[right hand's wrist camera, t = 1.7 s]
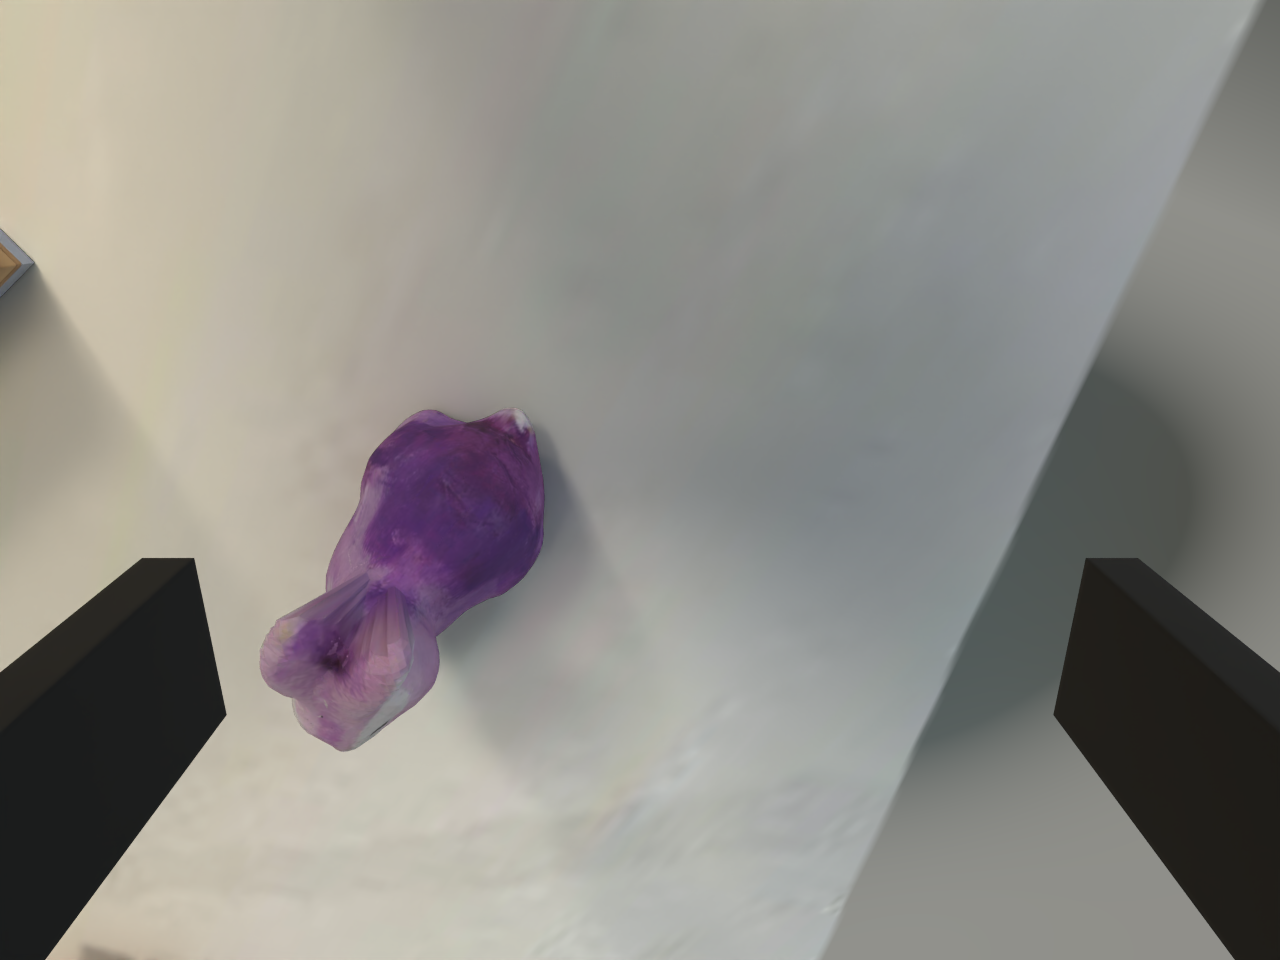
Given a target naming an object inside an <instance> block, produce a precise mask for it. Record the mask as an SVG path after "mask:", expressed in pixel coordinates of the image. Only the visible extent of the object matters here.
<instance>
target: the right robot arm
mask: <svg viewBox="0 0 1280 960" xmlns="http://www.w3.org/2000/svg"><path fill="white" fill-rule="evenodd" d="M225 716H226V710H225V705H224V700H223V695H222V690H221V686H220V681H219V676H218V671H217V666H216V661H215V657H214V652H213V647H212V642H211V637H210V632H209V628H208V623H207V618H206V613H205V608H204V603H203V599H202V594H201V589H200V584H199V579H198V574H197V570H196V565H195V560H194V558H142V559H140V560H139V561H138V562H137V563H135V564H134V565H133V566H132V567H131V568H129V569H128V570H127V571H126V572H124V573H123V574H122V575H121V576H119V577H118V578H117V579H116V580H114V581H113V582H112V583H111V584H109V585H108V586H107V587H106V588H104V589H103V590H102V591H101V592H100V593H98V594H97V595H96V596H95V597H93V598H92V599H91V600H90V601H88V602H87V603H86V604H85V605H83V606H82V607H81V608H80V609H78V610H77V611H76V612H75V613H73V614H72V615H71V616H70V617H69V618H67V619H66V620H65V621H64V622H62V623H61V624H60V625H59V626H57V627H56V628H55V629H54V630H52V631H51V632H50V633H49V634H47V635H46V636H45V637H44V638H42V639H41V640H40V641H39V642H38V643H36V644H35V645H34V646H33V647H31V648H30V649H29V650H28V651H26V652H25V653H24V654H23V655H21V656H20V657H19V658H18V659H16V660H15V661H14V662H13V663H11V664H10V665H9V666H8V667H7V668H5V669H4V670H3V671H2V672H0V960H45V959H46V958H47V957H48V955H49V954H50V953H51V951H52V950H53V948H54V947H55V946H56V944H57V943H58V942H59V940H60V939H61V938H62V936H63V935H64V934H65V932H66V931H67V930H68V928H69V927H70V926H71V924H72V923H73V921H74V920H75V919H76V917H77V916H78V915H79V913H80V912H81V911H82V909H83V908H84V907H85V905H86V904H87V903H88V901H89V900H90V899H91V897H92V896H93V894H94V893H95V892H96V890H97V889H98V888H99V886H100V885H101V884H102V882H103V881H104V880H105V878H106V877H107V876H108V874H109V873H110V872H111V870H112V869H113V867H114V866H115V865H116V863H117V862H118V861H119V859H120V858H121V857H122V855H123V854H124V853H125V851H126V850H127V849H128V847H129V846H130V844H131V843H132V842H133V840H134V839H135V838H136V836H137V835H138V834H139V832H140V831H141V830H142V828H143V827H144V826H145V824H146V823H147V822H148V820H149V819H150V817H151V816H152V815H153V813H154V812H155V811H156V809H157V808H158V807H159V805H160V804H161V803H162V801H163V800H164V799H165V797H166V796H167V795H168V793H169V792H170V790H171V789H172V788H173V786H174V785H175V784H176V782H177V781H178V780H179V778H180V777H181V776H182V774H183V773H184V772H185V770H186V769H187V768H188V766H189V765H190V763H191V762H192V761H193V759H194V758H195V757H196V755H197V754H198V753H199V751H200V750H201V749H202V747H203V746H204V745H205V743H206V742H207V741H208V739H209V738H210V736H211V735H212V734H213V732H214V731H215V730H216V728H217V727H218V726H219V724H220V723H221V722H222V720H223V719H224V718H225ZM1054 716H1055V718H1056V719H1057V720H1058V722H1059V723H1060V724H1061V726H1062V727H1063V728H1064V730H1065V731H1066V732H1067V734H1068V735H1069V736H1070V738H1071V739H1072V741H1073V742H1074V743H1075V745H1076V746H1077V747H1078V749H1079V750H1080V751H1081V753H1082V754H1083V755H1084V757H1085V758H1086V759H1087V761H1088V762H1089V763H1090V765H1091V766H1092V768H1093V769H1094V770H1095V772H1096V773H1097V774H1098V776H1099V777H1100V778H1101V780H1102V781H1103V782H1104V784H1105V785H1106V786H1107V788H1108V789H1109V790H1110V792H1111V793H1112V795H1113V796H1114V797H1115V799H1116V800H1117V801H1118V803H1119V804H1120V805H1121V807H1122V808H1123V809H1124V811H1125V812H1126V813H1127V815H1128V816H1129V817H1130V819H1131V820H1132V822H1133V823H1134V824H1135V826H1136V827H1137V828H1138V830H1139V831H1140V832H1141V834H1142V835H1143V836H1144V838H1145V839H1146V840H1147V842H1148V843H1149V845H1150V846H1151V847H1152V849H1153V850H1154V851H1155V853H1156V854H1157V855H1158V857H1159V858H1160V859H1161V861H1162V862H1163V863H1164V865H1165V866H1166V867H1167V869H1168V870H1169V872H1170V873H1171V874H1172V876H1173V877H1174V878H1175V880H1176V881H1177V882H1178V884H1179V885H1180V886H1181V888H1182V889H1183V890H1184V892H1185V893H1186V894H1187V896H1188V897H1189V898H1190V900H1191V901H1192V903H1193V904H1194V905H1195V907H1196V908H1197V909H1198V911H1199V912H1200V913H1201V915H1202V916H1203V917H1204V919H1205V920H1206V921H1207V923H1208V924H1209V926H1210V927H1211V928H1212V930H1213V931H1214V932H1215V934H1216V935H1217V936H1218V938H1219V939H1220V940H1221V942H1222V943H1223V944H1224V946H1225V947H1226V948H1227V950H1228V951H1229V953H1230V954H1231V955H1232V957H1233V958H1234V959H1235V960H1280V672H1278V671H1277V670H1276V669H1275V668H1273V667H1272V666H1271V665H1270V664H1268V663H1267V662H1266V661H1265V660H1264V659H1262V658H1261V657H1260V656H1259V655H1257V654H1256V653H1255V652H1254V651H1252V650H1251V649H1250V648H1249V647H1247V646H1246V645H1245V644H1244V643H1242V642H1241V641H1240V640H1239V639H1237V638H1236V637H1235V636H1234V635H1232V634H1231V633H1230V632H1229V631H1228V630H1226V629H1225V628H1224V627H1223V626H1221V625H1220V624H1219V623H1218V622H1216V621H1215V620H1214V619H1213V618H1211V617H1210V616H1209V615H1208V614H1207V613H1205V612H1204V611H1203V610H1202V609H1200V608H1199V607H1198V606H1197V605H1195V604H1194V603H1193V602H1192V601H1190V600H1189V599H1188V598H1187V597H1185V596H1184V595H1183V594H1182V593H1180V592H1179V591H1178V590H1177V589H1175V588H1174V587H1173V586H1172V585H1171V584H1169V583H1168V582H1167V581H1166V580H1164V579H1163V578H1162V577H1161V576H1159V575H1158V574H1157V573H1156V572H1154V571H1153V570H1152V569H1151V568H1149V567H1148V566H1147V565H1146V564H1145V563H1143V562H1142V561H1141V560H1140V559H1138V558H1086V560H1085V565H1084V570H1083V575H1082V579H1081V584H1080V589H1079V594H1078V599H1077V603H1076V608H1075V613H1074V618H1073V623H1072V628H1071V632H1070V637H1069V642H1068V647H1067V652H1066V657H1065V661H1064V666H1063V671H1062V676H1061V681H1060V686H1059V691H1058V695H1057V700H1056V705H1055V710H1054Z"/></svg>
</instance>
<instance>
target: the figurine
mask: <svg viewBox="0 0 1280 960" xmlns="http://www.w3.org/2000/svg"><path fill="white" fill-rule="evenodd" d="M543 517H544V484H543V476H542V470H541V465H540V459H539V454H538V448H537V442H536V437H535V432H534V429H533V426H532V424H531V422H530V420H529V418H528V417H527V416H526V414H525V413H524V412H523V411H521V410H519V409H516V408H504V409H502V410H500V411H498V412H496V413H495V414H493V415H491V416H488V417H486V418H483V419H481V420H477V421H473V422H469V423H465V422H462V421H457V420H454V419H452V418H449V417H448V416H446V415H444V414H443V413H441V412H438V411H436V410H423V411H420V412H418V413H416V414H414V415H412V416H410V417H409V418H407V419H406V420H405V421H404V422H403V423H402V424H401V425H400V426H399V427H398V428H397V429H396V430H395V431H394V432H393V433H392V434H391V435H390V436H388V437H387V438H386V439H385V440H384V441H383V442H382V443H381V444H380V446H379V447H378V448H377V449H376V450H375V451H374V453H373V454H372V455H371V457H370V458H369V460H368V463H367V466H366V469H365V473H364V476H363V479H362V482H361V494H360V501H359V505H358V507H357V509H356V511H355V513H354V515H353V517H352V519H351V520H350V522H349V524H348V526H347V527H346V529H345V531H344V533H343V534H342V536H341V538H340V540H339V542H338V544H337V546H336V548H335V550H334V553H333V556H332V558H331V561H330V563H329V567H328V570H327V574H326V593H324V594H323V595H321V596H319V597H317V598H315V599H314V600H312V601H310V602H308V603H306V604H305V605H303V606H301V607H299V608H297V609H296V610H294V611H292V612H290V613H288V614H287V615H285V616H283V617H281V618H280V619H278V620H277V621H276V623H275V626H273V627H271V628H270V632H269V633H268V634H267V635H266V637H265V640H264V642H263V645H262V647H261V649H260V670H261V674H262V677H263V679H264V680H265V682H266V683H267V685H268V686H269V687H270V688H272V689H273V690H275V691H277V692H279V693H280V694H282V695H284V696H287V697H291V698H292V704H293V710H294V715H295V716H296V718H297V720H298V722H299V724H300V725H301V726H302V728H303V729H304V730H305V731H306V732H307V733H309V734H311V735H313V736H315V737H316V738H318V739H320V740H322V741H324V742H326V743H328V744H329V745H331V746H333V747H334V748H335V749H337V750H339V751H343V752H344V751H350V750H353V749H356V748H358V747H359V746H361V745H362V744H364V743H365V742H366V741H368V740H369V739H371V738H372V737H374V736H375V735H376V734H377V733H378V732H380V731H381V730H382V729H383V728H384V727H385V726H387V725H388V724H390V723H391V722H392V721H394V720H395V719H396V718H397V717H399V716H400V715H401V714H403V713H404V712H406V711H407V710H409V709H410V708H412V707H413V706H414V705H416V704H417V703H418V702H419V701H420V700H421V699H422V698H423V697H424V696H425V695H426V694H427V692H428V691H429V690H430V689H431V688H432V686H433V685H434V683H435V680H436V677H437V674H438V670H439V650H438V646H437V641H436V636H437V635H439V634H440V633H441V632H443V631H444V630H445V629H446V628H447V627H448V626H450V625H451V624H452V623H453V622H454V621H455V620H456V619H457V618H458V617H459V616H460V615H461V614H463V613H464V612H465V611H467V610H468V609H470V608H471V607H473V606H475V605H477V604H479V603H481V602H483V601H485V600H487V599H489V598H493V597H496V596H499V595H502V594H504V593H505V592H507V591H508V590H509V589H511V588H512V587H513V586H515V585H516V584H517V583H518V582H519V581H520V580H521V579H522V578H524V576H525V575H526V573H527V572H528V571H529V570H530V568H531V567H532V565H533V564H534V562H535V560H536V558H537V557H538V555H539V553H540V550H541V547H542V543H543V535H544V531H543Z"/></svg>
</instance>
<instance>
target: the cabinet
mask: <svg viewBox="0 0 1280 960" xmlns="http://www.w3.org/2000/svg"><path fill="white" fill-rule="evenodd" d="M33 263H34V262H33V261H32V260H31V259H30V258H29V257H28V256H27V255H26V254H25V253H24V252H23V251H22V250H21V249H20V248H19V247H18V246H17V245H16V244H15V243H14V242H13V241H12V240H11V239H10V238H9V237H8V236H7V235H6V234H5V233H4V232H3V231H2V230H1V229H0V297H1V296H2V295H3V294H4V293H5V292H6V291H7V290H8V289H9V288H10V287H11V286H12V285H13V284H14V283H15V282H16V281H17V280H18V279H19V278H20V277H21V276H22V275H23V274H24V273H25V272H26V271H27V269H28V268H29V267H30V266H31V265H32V264H33Z"/></svg>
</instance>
